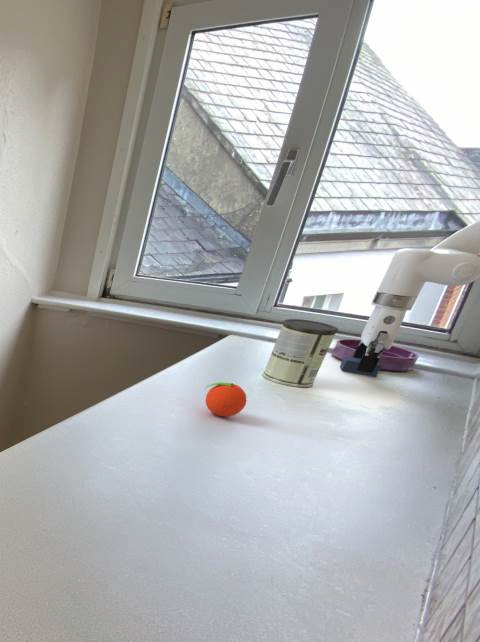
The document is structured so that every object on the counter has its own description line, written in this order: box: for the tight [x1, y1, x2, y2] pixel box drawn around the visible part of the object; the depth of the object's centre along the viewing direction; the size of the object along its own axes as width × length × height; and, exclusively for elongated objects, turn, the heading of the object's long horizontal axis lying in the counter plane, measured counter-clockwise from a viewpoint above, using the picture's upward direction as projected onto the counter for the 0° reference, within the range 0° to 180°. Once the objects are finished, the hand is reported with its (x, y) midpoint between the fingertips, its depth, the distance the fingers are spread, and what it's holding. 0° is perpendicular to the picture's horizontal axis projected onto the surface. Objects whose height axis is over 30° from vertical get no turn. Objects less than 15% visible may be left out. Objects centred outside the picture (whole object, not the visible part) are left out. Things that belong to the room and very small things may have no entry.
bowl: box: [330, 338, 420, 372], centre depth 152 cm, size 17×17×4 cm
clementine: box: [205, 382, 248, 418], centre depth 113 cm, size 8×7×7 cm
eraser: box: [339, 356, 381, 378], centre depth 144 cm, size 7×4×3 cm, turn 55°
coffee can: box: [262, 318, 339, 388], centre depth 133 cm, size 10×10×14 cm
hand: (361, 366), depth 143 cm, fingers open, 9 cm apart
